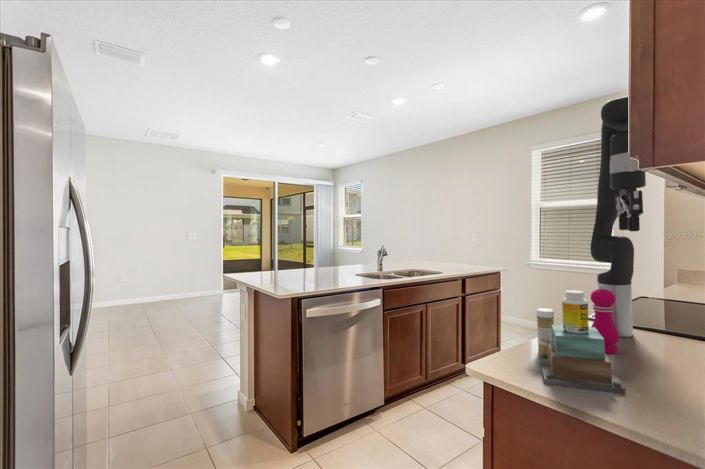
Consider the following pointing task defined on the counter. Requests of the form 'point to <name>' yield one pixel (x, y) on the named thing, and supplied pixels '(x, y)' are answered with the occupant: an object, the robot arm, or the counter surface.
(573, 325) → the supplement bottle
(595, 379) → the layered slab stack
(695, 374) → the counter surface
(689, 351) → the counter surface
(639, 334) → the counter surface
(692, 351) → the counter surface
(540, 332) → the sprinkles bottle
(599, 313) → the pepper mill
